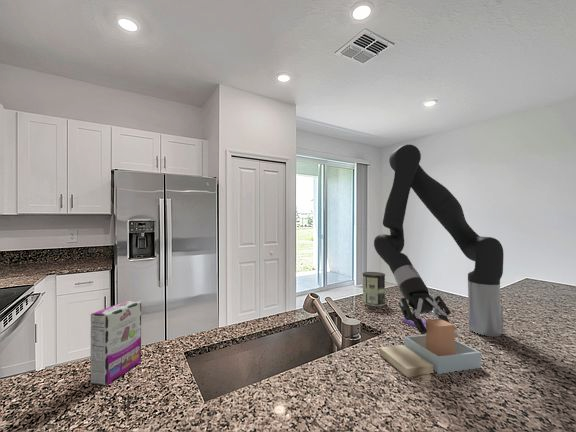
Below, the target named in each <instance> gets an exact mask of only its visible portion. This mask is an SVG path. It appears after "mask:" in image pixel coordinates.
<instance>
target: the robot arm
mask: <svg viewBox="0 0 576 432" xmlns="http://www.w3.org/2000/svg"><path fill="white" fill-rule="evenodd" d="M421 158H422V154H421V151H420V150H419V148H418V147H417V146H416V145H414V144H404V145H401V146H399V147H398V148H397V149H395V150H394V151H392V153H391V154H390V156H389V159H388V161H389V162H388V163H389V166H390V168H391V169H392V170H393V171H394V176H393V181H392V187H391V190H390V192H389V195H388V198H387V201H386V203H385V208H384V212H383V213H384V214H383V220H382V226H383V227H385V228H387V229H389V233H390V234H384V233H381V234H378V235H376V236H375V237H374V241H373V246H374V250H375V251H376V253H377V254H378V256H379V257H380V258H381V259H382V260H383V261H384V263H385V264H386V265H388V267H389V269H390V271H391V273H392V274H393V276H394V280H395V282H396V285H397V286H398V288H399V290H400V292H401V295H402V296H403V297H402V298H401V299H400V300H399V302H398V306H399V308H400V309H401V312H402V314H403V316H404V317H403V318H405V319H406V320H407V321H408V320H411V321H412V322H414V324H415V326H416V327H415V326H414V327H415V328H416V329H417V332H419V333H420V335H425V334H426V332H427V330H426V328H425V326H424V324H423V322H422V320H421V319H419V318H421V315H422V314H430V315H432V316H435V317H436V318H437V319H442V320H444V321H447V322H449V323H451V321H450V320H449V318H448V316H449V315H450V314H451V313H452V312H451V311H450V309H449V307H448V306H447V305H446V304H447V303H445V302H444V300H443V299H442V296H440V295H437V296H435V297H432V296H431V295H430V293H429V289H428V287H427V285H426V284H425V282H424V280H423V279H422V277H421V275H420V273H419V272H418V271H417V269H416V268H415V266H414V265H413V264H412V263H413V262H411V259H409V257H408V255H407V254H405V253H403V252H402V251H403V250H404V247H405V234H404V233H405V232H404V221H405V217H406V211H407V205H408V200H409V196H410V192H411V190H413V192H414V193H415V194H416V196H417V198H419V199H420V201H421V202H422V203H423V204H424V206H425V207H426V208H427V209H428V210H429V212H430V213H431V214H432V216H433V217H434V218H435V219H436V220H437V221H438V222H439V223H440V224H441V226H442V227H443V228H444V229H445V230H446V231H447V232H448V234H450V236H451V237H452V239H453V240H454V242H455V243H456V245H457V246H458V247H459V249H460V251H461V252H462V253H463V255H464V256H465V257H466V258H468V259H469V260H471V261H473V262H474V269H473V270H472V271H469V272H468V273H467V296H468V297H467V299H468V300H467V302H468V303H467V304H468V310H467V311H468V330H469V329H470V330H471V332H472V331H473V333H474V332H475V334H477V333H478V334H477V335H480V334H481V336H484V335H485V336H484V337H491V338H492V337H494V338H495V337H496V338H497V337H500V336H502V335H504V309H503V308H504V307H503V304H502V305H501V279H502V277H503V275H504V274H503V273H504V255H505V254H504V248H503V245H502V243H501V241H499V240H498V239H496V238H495V237H491V236H490V237H489V236H481V235H479V234H478V233H476V231H475V230H474V229H473V228H472V227H471V226H470V225H469V223H468V222H467V220H466V216H465V214H464V211H463V206H462V204H461V203H460V202H459V201H458V199H457V198H456V197H455V195H454V194H453V193H452V192H451V191H450V190H449V189H448V188H447V187H445V186H444V185H443V184H442V183H440V182H439V181H438V180H437V179H435V178H433V177H432V176H430V175H429V174H428V173H427V172H426V171H425V170H424V168H423V167H422V166H421V165H420V162H421ZM410 307H411V308H412V310H411V308H410ZM470 330H469V331H470Z"/></svg>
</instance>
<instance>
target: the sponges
mask: <svg viewBox="0 0 576 432" xmlns="http://www.w3.org/2000/svg"><path fill="white" fill-rule="evenodd" d="M419 319H421V320H422V322H423V324H424V326H425V328H426V320H427V319H424V318H422V317H419ZM402 322H403V323H405V324H407V325H410V326H412V327H415V324H414V322H412V321H411V320H408V321H407V320H406V319H405V317H403V318H402Z"/></svg>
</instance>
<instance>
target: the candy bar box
mask: <svg viewBox="0 0 576 432" xmlns="http://www.w3.org/2000/svg"><path fill="white" fill-rule="evenodd" d="M141 362H142V301H137V300H126V301H123V302H119V303H117V304H113V305H111V306H108V307H105V308H104V309H100V310H99V311H95V312H92V313H90V370H89V371H90V376H89V377H90V379H89V381H90V384H93V385H101V386H108V385H110V384H111V383H113V382H114V381H115V380H117V379H119V378H120V377H122V376H123V375H125V374H126V373H127V372H128V371H130V370H132V369H134V367H136V366H137V365H139V364H140V363H141Z"/></svg>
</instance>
